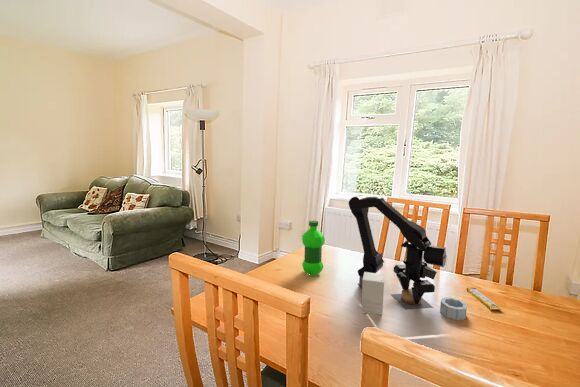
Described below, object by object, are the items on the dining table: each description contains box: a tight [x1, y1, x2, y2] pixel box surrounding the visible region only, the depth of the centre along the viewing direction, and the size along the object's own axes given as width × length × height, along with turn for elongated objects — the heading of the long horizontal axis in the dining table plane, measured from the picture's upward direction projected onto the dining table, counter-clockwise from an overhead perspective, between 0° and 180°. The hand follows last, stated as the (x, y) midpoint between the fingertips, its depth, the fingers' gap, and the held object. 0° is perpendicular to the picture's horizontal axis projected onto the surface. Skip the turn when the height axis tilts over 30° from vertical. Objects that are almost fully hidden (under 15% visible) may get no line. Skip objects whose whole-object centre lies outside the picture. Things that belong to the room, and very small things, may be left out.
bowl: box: [439, 296, 468, 321], centre depth 101 cm, size 8×8×4 cm
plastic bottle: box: [301, 220, 326, 276], centre depth 133 cm, size 10×10×25 cm
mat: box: [390, 293, 434, 310], centre depth 110 cm, size 11×11×1 cm
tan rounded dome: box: [401, 288, 421, 305], centre depth 109 cm, size 7×7×3 cm
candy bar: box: [466, 287, 502, 311], centre depth 112 cm, size 17×4×2 cm, turn 178°
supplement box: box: [361, 272, 385, 316], centre depth 104 cm, size 7×7×13 cm
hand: (411, 298), depth 110 cm, fingers open, 7 cm apart
